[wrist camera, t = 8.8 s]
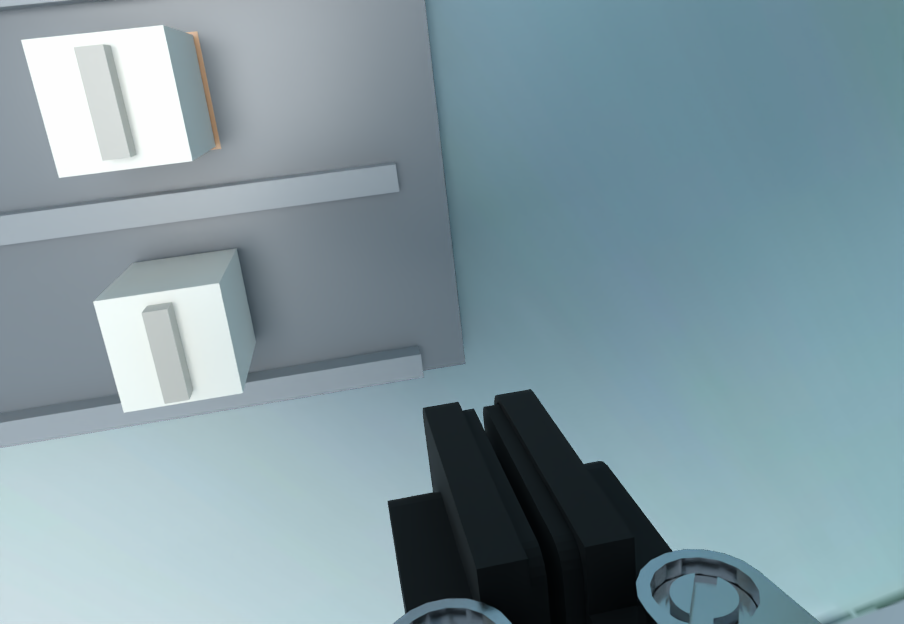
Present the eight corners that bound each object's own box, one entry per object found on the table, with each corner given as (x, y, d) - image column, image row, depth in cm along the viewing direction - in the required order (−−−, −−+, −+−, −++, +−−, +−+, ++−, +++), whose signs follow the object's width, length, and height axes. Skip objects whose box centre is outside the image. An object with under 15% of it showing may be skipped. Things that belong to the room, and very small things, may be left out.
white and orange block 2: (192, 35, 20) (157, 22, 16) (215, 146, 21) (187, 164, 17) (78, 47, 20) (9, 38, 16) (106, 160, 21) (50, 181, 16)
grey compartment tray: (383, -299, 20) (393, -360, 17) (457, 348, 26) (473, 380, 23) (-446, -255, 18) (-591, -318, 15) (-155, 447, 24) (-219, 497, 21)
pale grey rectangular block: (236, 248, 22) (215, 289, 18) (255, 341, 23) (240, 402, 19) (133, 262, 22) (85, 308, 17) (156, 357, 23) (117, 423, 18)
